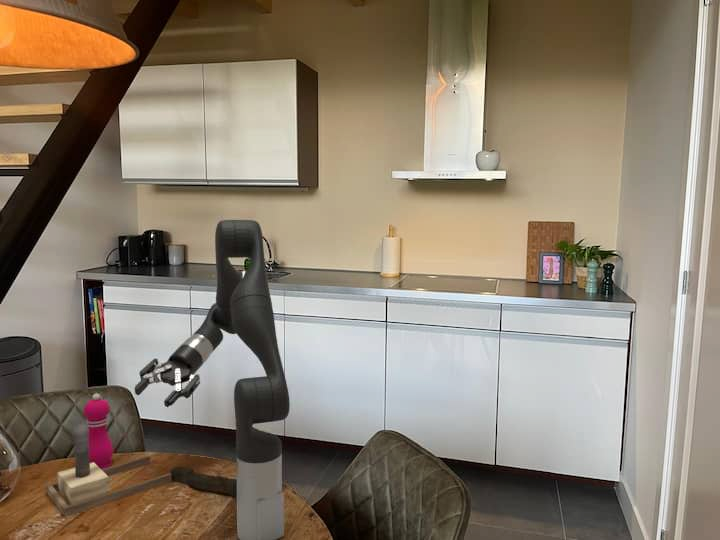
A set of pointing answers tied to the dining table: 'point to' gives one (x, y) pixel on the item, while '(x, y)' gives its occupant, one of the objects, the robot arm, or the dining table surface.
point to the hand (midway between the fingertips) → (150, 398)
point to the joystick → (82, 472)
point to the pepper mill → (98, 432)
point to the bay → (110, 496)
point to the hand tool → (204, 481)
